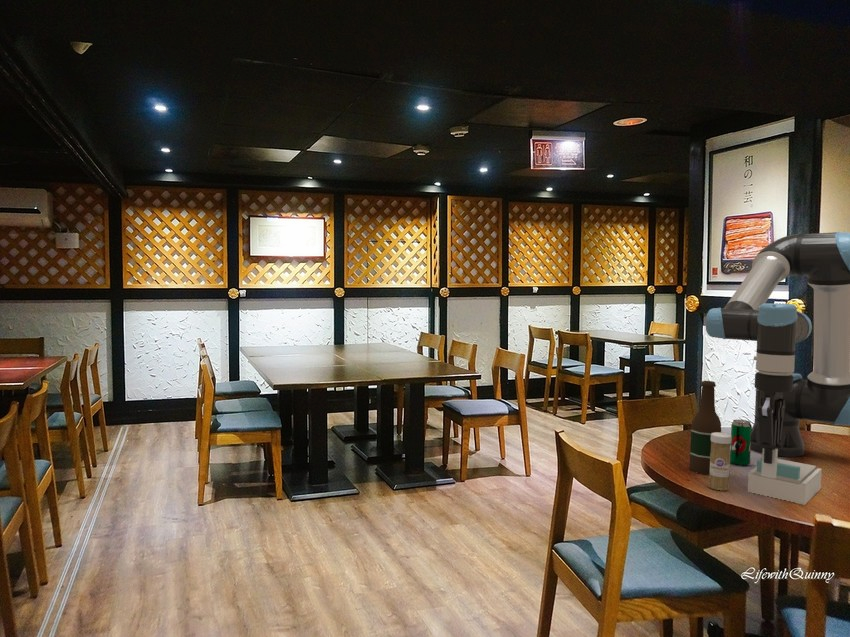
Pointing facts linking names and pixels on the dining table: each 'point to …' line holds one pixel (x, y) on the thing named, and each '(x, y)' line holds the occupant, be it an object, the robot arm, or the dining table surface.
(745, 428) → the soda can
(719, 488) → the sprinkles bottle
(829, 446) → the dining table surface
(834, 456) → the dining table surface
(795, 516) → the dining table surface
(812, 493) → the mailer box
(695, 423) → the beer bottle
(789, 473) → the lid
